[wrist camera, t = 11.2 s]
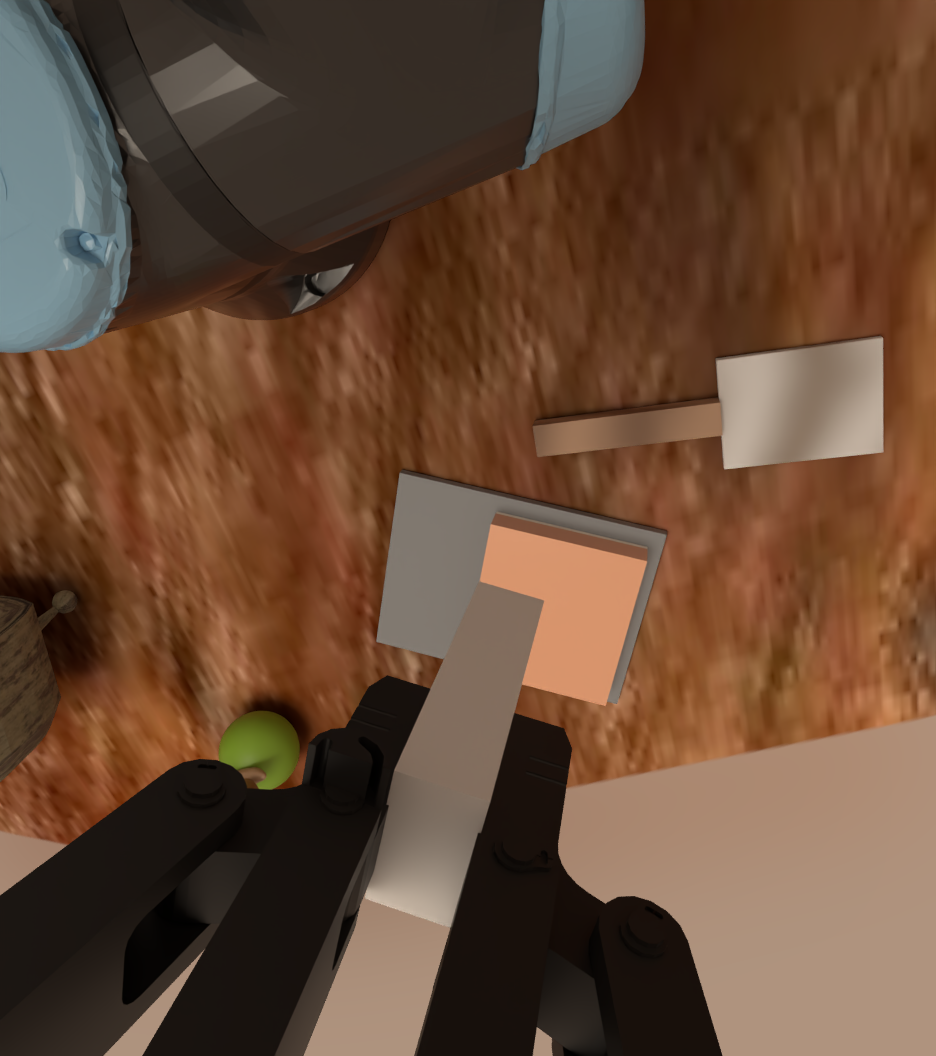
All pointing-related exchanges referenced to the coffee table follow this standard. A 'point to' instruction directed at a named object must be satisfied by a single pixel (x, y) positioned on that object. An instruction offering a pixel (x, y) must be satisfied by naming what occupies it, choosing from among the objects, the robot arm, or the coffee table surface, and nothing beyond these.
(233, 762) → the snail figurine
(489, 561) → the tile
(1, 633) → the tabletop clock
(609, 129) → the coffee table surface
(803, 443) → the turner
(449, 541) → the mat
